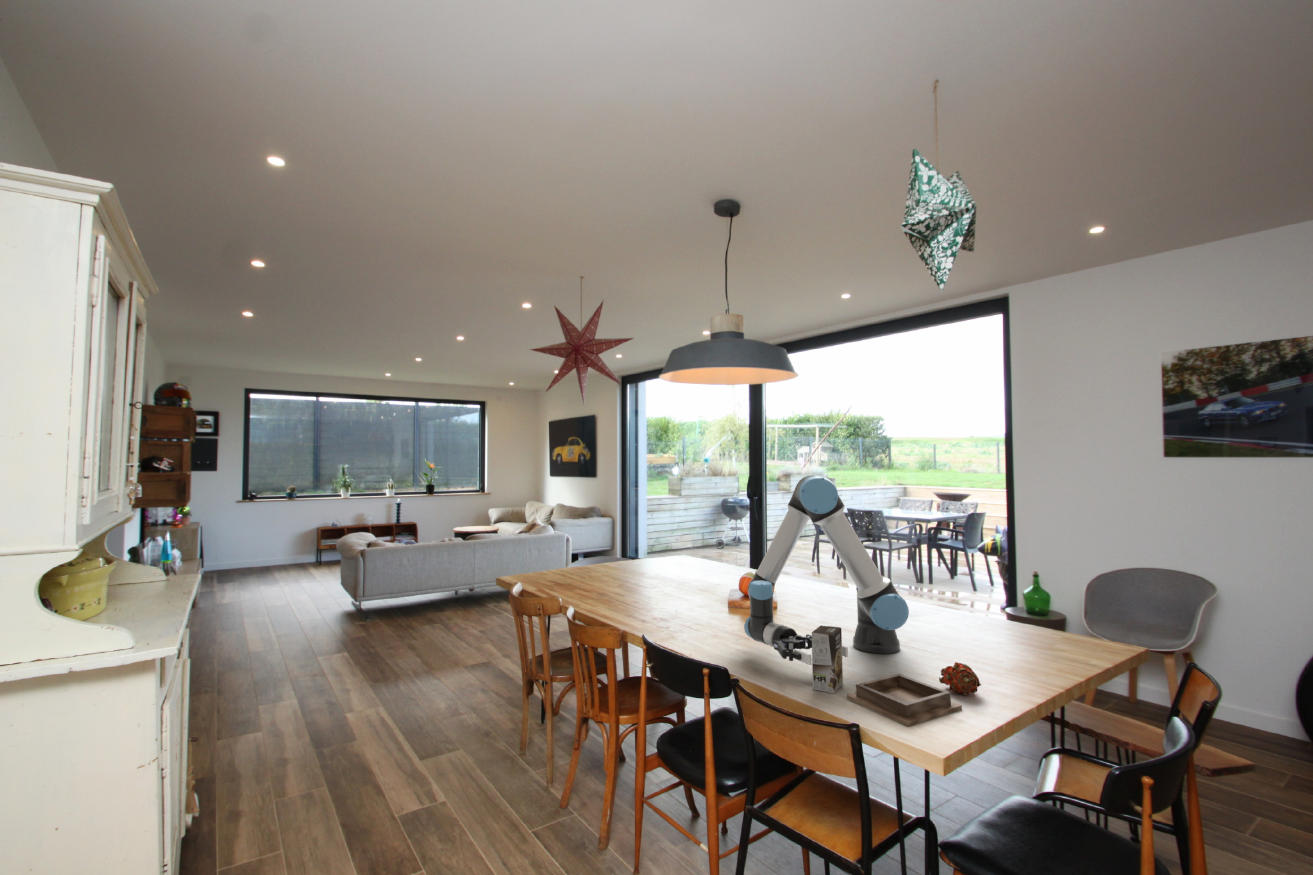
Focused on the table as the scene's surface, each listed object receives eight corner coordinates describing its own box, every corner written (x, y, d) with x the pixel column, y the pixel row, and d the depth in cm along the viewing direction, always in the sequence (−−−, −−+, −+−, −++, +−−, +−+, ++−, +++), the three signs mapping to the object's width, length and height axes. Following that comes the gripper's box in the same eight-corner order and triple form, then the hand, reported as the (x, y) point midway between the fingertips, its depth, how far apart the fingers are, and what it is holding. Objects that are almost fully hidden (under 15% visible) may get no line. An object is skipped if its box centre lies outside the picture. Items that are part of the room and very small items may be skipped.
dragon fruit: (977, 707, 161) (943, 697, 172) (994, 684, 164) (960, 676, 175) (958, 682, 161) (926, 674, 172) (975, 659, 164) (943, 653, 175)
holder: (898, 684, 174) (897, 670, 174) (961, 709, 156) (961, 693, 156) (846, 698, 164) (846, 683, 165) (908, 726, 147) (907, 709, 147)
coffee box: (835, 694, 168) (833, 634, 168) (812, 689, 171) (810, 631, 172) (843, 683, 176) (842, 627, 176) (821, 679, 179) (820, 624, 180)
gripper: (811, 643, 197) (861, 662, 178) (748, 655, 185) (794, 677, 167) (811, 620, 197) (860, 636, 178) (748, 631, 186) (794, 649, 167)
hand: (829, 656), depth 172 cm, fingers open, 13 cm apart
